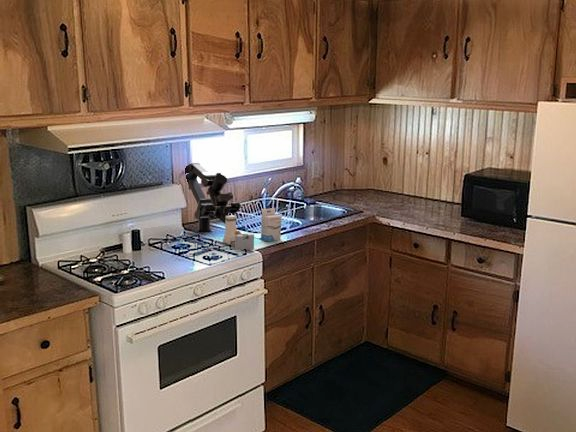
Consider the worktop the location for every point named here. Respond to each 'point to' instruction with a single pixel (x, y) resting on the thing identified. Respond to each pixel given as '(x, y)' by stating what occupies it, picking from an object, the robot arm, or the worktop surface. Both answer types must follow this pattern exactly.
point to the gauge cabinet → (244, 242)
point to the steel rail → (231, 242)
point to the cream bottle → (230, 229)
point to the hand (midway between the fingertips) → (226, 223)
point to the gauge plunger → (240, 234)
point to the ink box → (270, 225)
